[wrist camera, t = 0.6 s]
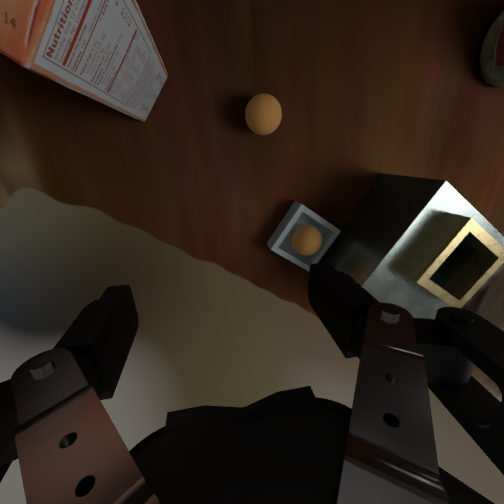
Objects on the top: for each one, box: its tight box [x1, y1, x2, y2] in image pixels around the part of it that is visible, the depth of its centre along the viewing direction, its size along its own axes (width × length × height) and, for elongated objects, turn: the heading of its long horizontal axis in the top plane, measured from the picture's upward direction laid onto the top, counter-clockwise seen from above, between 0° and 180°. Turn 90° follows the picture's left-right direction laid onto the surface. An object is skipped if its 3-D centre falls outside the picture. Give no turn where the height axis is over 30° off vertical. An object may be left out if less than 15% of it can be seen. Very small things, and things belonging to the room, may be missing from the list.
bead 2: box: [291, 225, 322, 256], centre depth 33 cm, size 4×4×4 cm
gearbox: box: [318, 174, 504, 319], centre depth 33 cm, size 18×14×12 cm
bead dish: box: [266, 201, 341, 271], centre depth 35 cm, size 7×7×2 cm
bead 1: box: [245, 94, 282, 135], centre depth 28 cm, size 4×4×4 cm
